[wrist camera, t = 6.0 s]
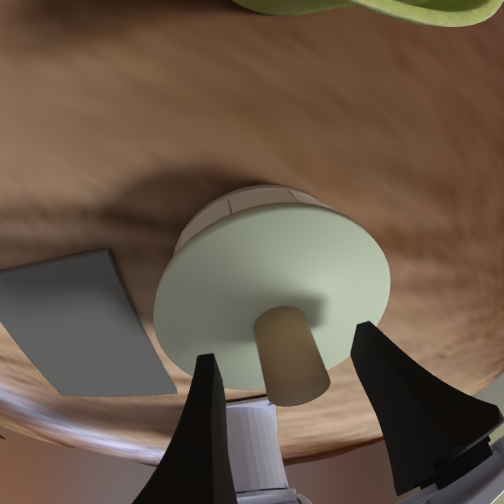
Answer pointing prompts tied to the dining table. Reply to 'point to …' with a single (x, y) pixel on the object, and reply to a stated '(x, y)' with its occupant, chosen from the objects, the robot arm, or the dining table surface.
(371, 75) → the dining table surface
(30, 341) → the mat
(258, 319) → the lid
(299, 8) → the plant pot
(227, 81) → the dining table surface
